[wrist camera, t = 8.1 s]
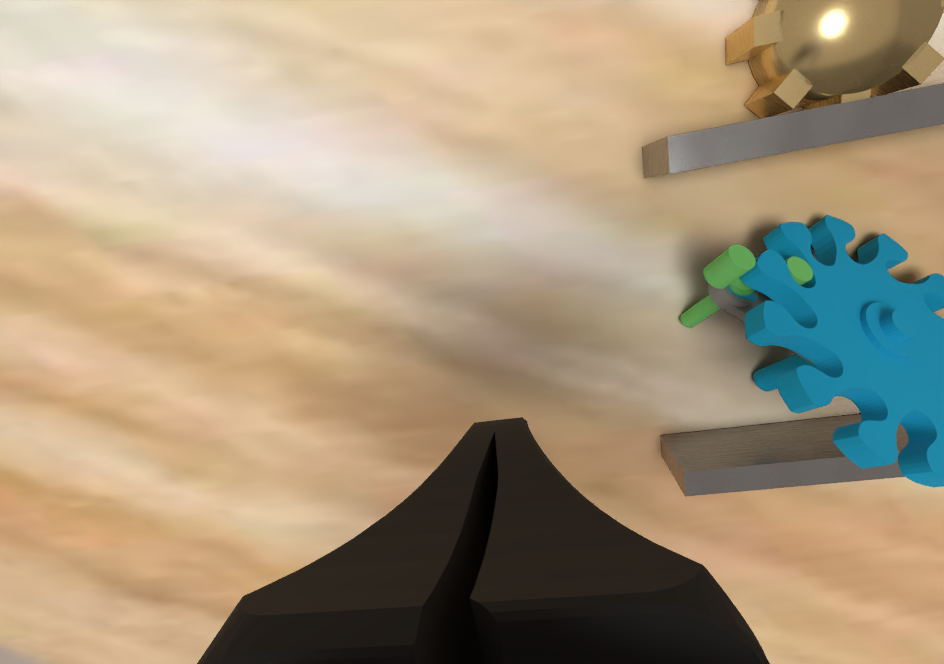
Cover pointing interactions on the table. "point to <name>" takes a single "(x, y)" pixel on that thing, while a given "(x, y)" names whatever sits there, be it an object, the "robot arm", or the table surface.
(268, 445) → the table surface
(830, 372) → the gear
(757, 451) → the bracket
